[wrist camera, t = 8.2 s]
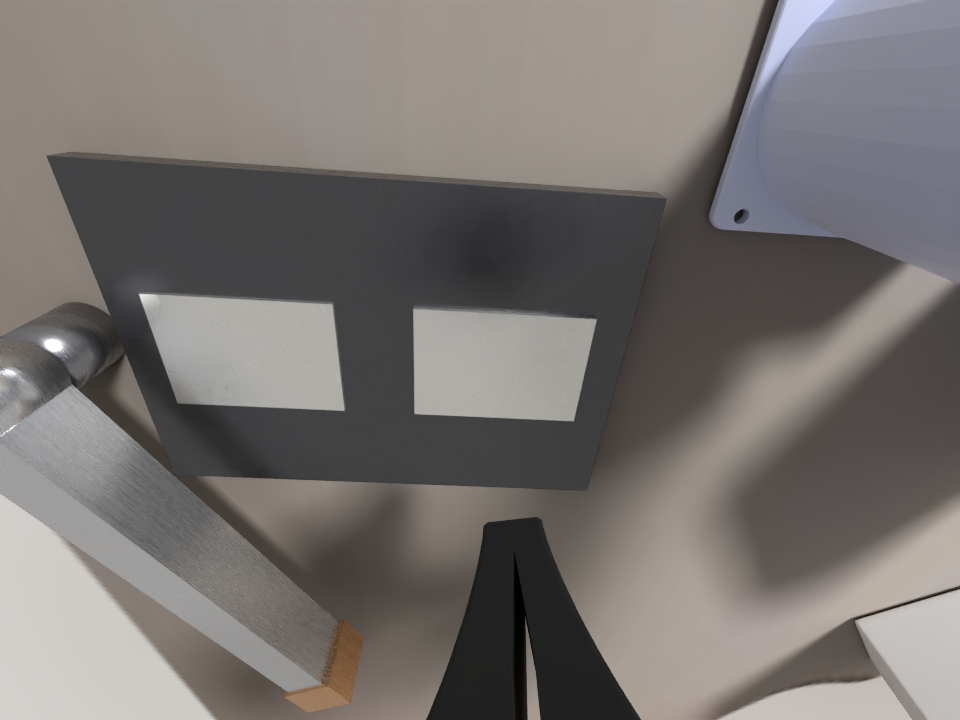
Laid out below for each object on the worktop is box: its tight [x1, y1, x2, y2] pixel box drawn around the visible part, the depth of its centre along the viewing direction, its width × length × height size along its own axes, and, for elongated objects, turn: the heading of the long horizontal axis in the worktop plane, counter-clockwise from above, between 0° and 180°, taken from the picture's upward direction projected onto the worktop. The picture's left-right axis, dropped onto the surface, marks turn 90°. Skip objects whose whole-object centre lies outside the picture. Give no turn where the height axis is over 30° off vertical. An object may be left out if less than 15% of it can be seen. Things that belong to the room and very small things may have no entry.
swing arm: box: [0, 338, 364, 713], centre depth 19 cm, size 22×3×3 cm, turn 24°
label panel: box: [0, 152, 667, 491], centre depth 18 cm, size 23×14×3 cm, turn 86°
